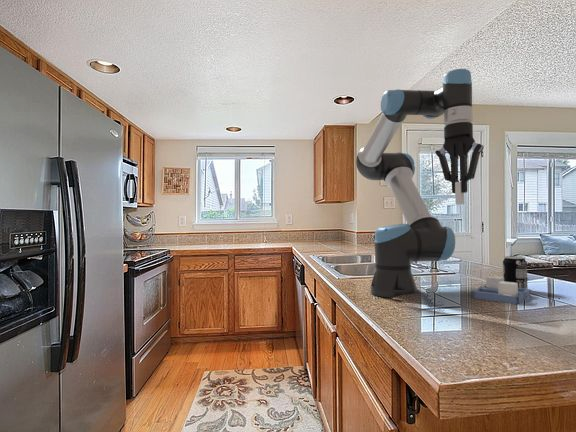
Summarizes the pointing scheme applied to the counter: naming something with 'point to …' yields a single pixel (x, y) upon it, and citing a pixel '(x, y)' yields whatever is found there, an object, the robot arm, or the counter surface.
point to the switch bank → (500, 295)
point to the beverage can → (515, 270)
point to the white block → (508, 288)
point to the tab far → (493, 281)
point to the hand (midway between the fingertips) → (459, 204)
